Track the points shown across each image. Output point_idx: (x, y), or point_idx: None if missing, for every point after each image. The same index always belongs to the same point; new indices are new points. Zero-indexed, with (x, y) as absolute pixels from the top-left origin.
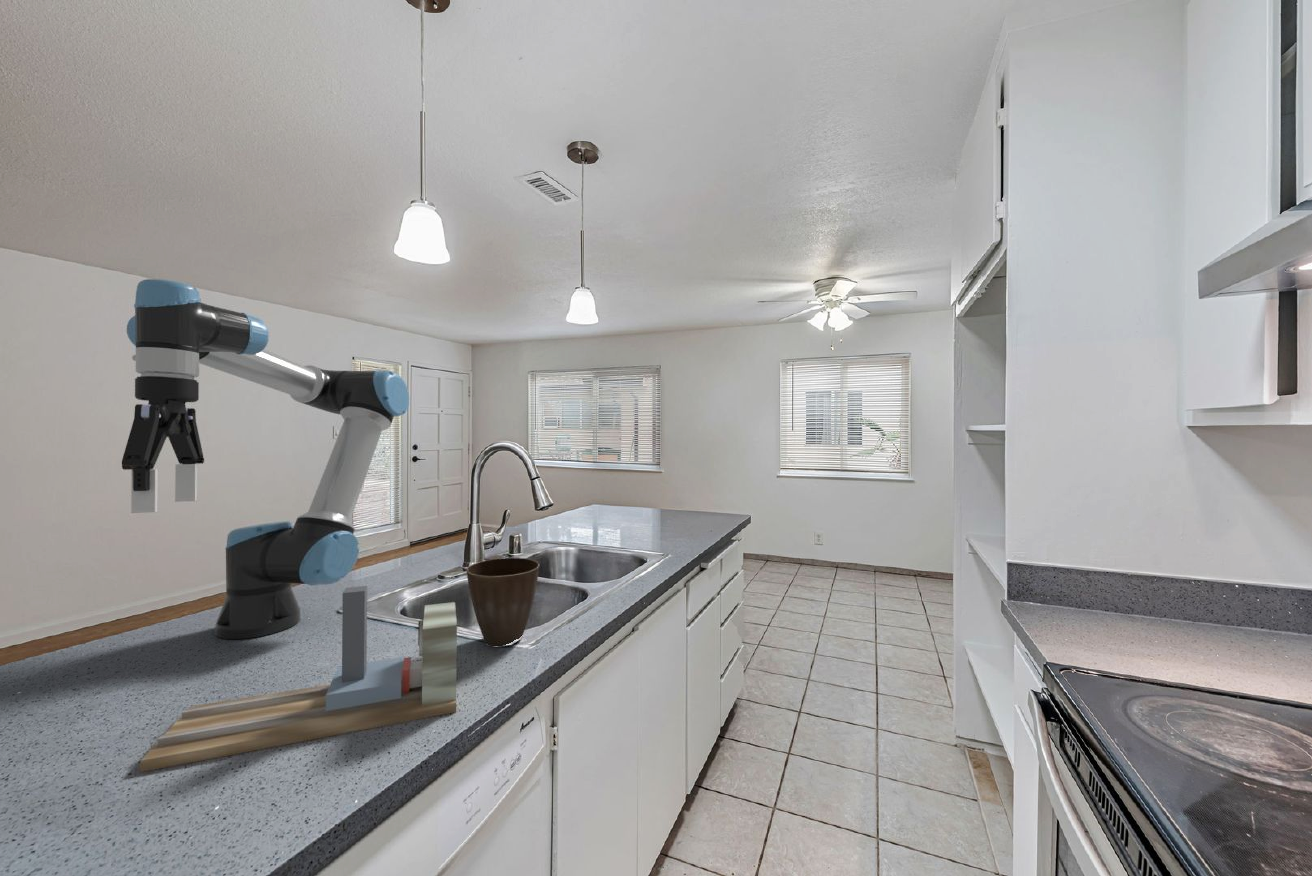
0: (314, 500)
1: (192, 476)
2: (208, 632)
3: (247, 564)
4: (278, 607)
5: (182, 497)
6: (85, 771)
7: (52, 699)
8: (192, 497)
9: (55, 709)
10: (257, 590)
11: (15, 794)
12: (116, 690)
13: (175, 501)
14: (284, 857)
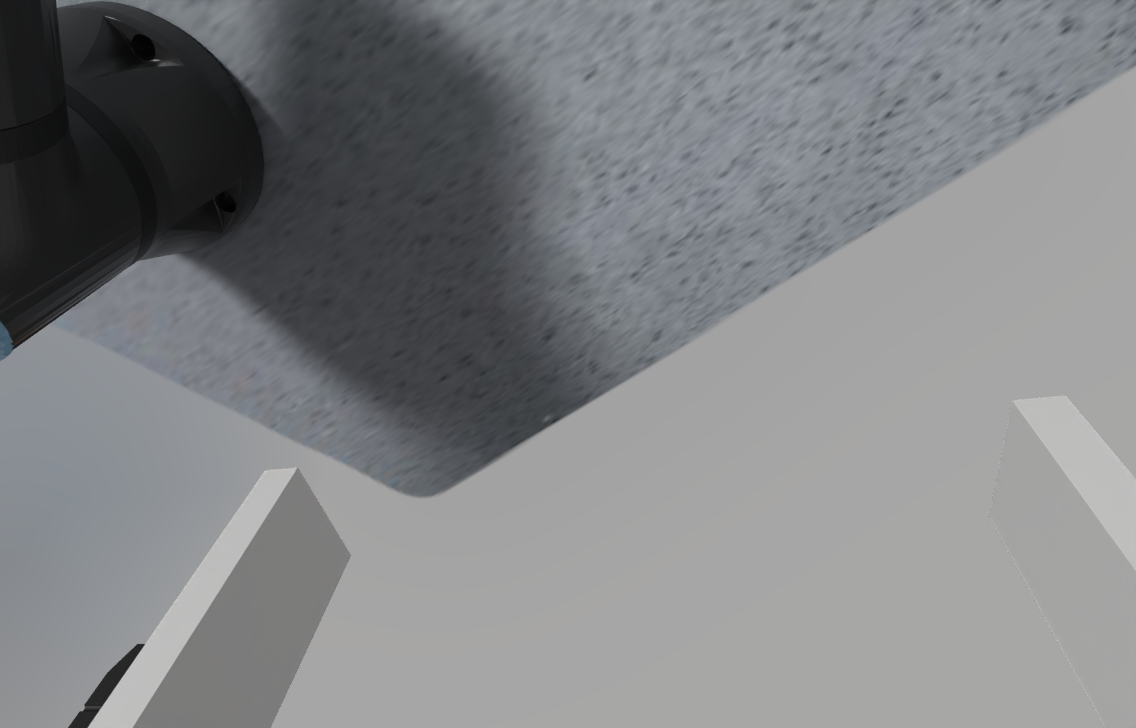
0: None
1: (176, 690)
2: (221, 256)
3: (58, 213)
4: (107, 62)
5: (317, 551)
6: (1003, 34)
7: (592, 344)
8: (290, 503)
9: (643, 308)
10: (113, 142)
11: (1038, 121)
12: (569, 249)
13: (349, 555)
14: None
